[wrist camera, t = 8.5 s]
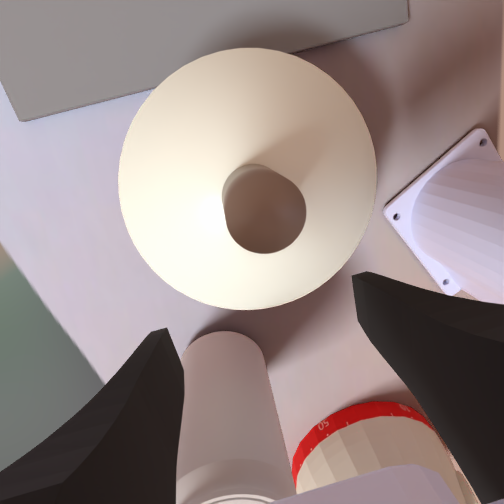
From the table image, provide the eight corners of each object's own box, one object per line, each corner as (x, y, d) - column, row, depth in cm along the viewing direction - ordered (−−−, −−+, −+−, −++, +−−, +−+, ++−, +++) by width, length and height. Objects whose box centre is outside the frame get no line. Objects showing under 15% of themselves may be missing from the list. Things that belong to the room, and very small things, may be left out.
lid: (413, 196, 18) (479, 216, 14) (246, 341, 20) (256, 400, 16) (259, -20, 14) (282, -91, 10) (65, 191, 16) (10, 213, 12)
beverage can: (163, 353, 24) (122, 541, 13) (235, 310, 24) (258, 467, 13) (210, 406, 27) (210, 604, 15) (277, 367, 26) (328, 544, 15)
